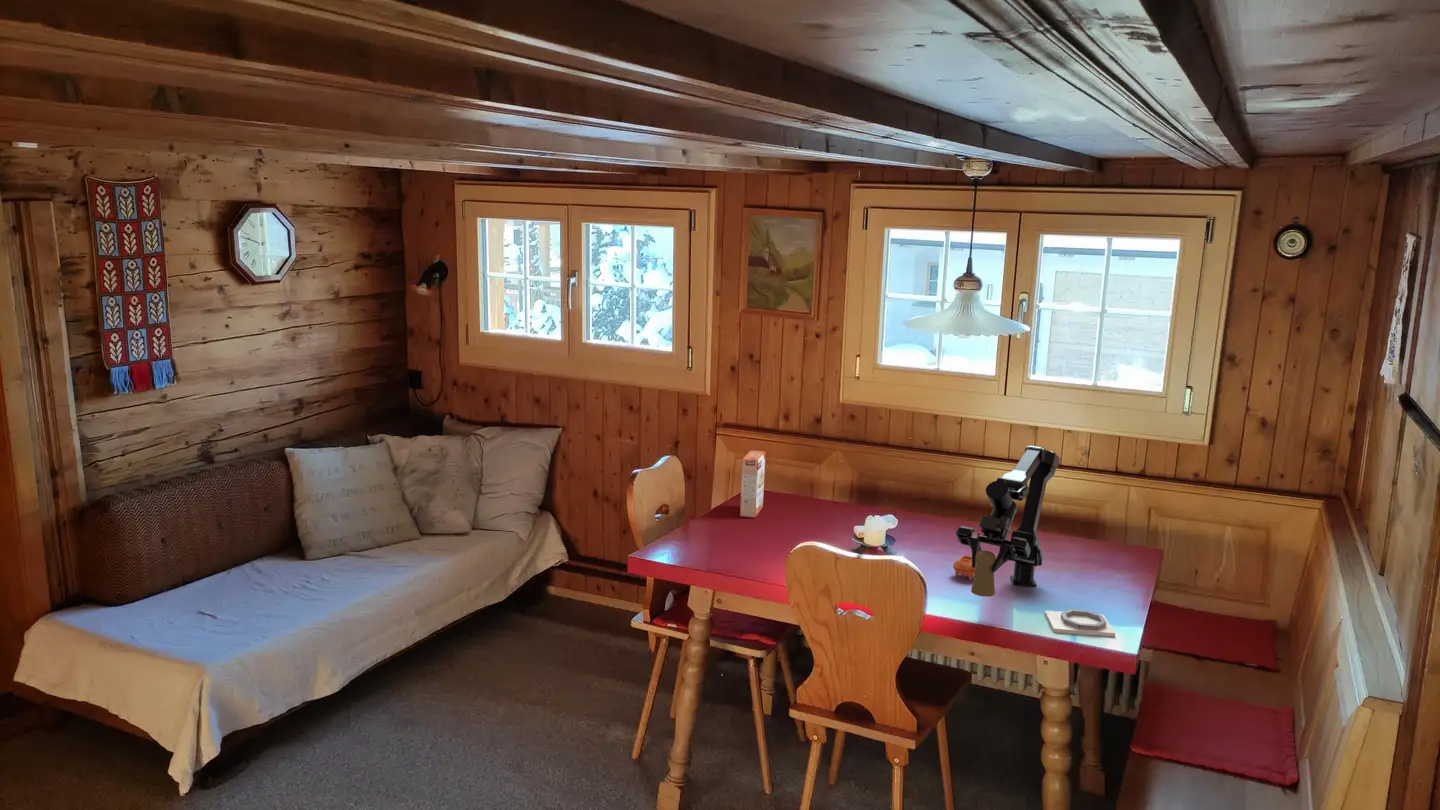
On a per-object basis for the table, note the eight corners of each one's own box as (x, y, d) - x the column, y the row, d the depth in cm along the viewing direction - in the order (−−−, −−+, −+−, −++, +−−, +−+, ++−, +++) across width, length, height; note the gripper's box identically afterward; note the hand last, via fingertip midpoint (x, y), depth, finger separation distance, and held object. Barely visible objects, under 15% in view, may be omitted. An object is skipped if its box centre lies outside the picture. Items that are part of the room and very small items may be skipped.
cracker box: (756, 518, 341) (758, 459, 337) (739, 517, 342) (741, 458, 338) (764, 507, 354) (766, 450, 351) (747, 506, 356) (749, 449, 352)
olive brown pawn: (994, 597, 255) (998, 557, 253) (970, 594, 257) (973, 554, 255) (994, 589, 261) (997, 549, 259) (971, 586, 263) (974, 547, 261)
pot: (987, 580, 286) (984, 558, 285) (962, 587, 285) (959, 566, 284) (974, 569, 294) (971, 549, 292) (950, 576, 293) (947, 556, 291)
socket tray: (1044, 614, 263) (1045, 606, 262) (1103, 618, 261) (1103, 610, 261) (1053, 632, 251) (1054, 624, 251) (1114, 636, 249) (1115, 628, 249)
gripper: (961, 496, 263) (941, 546, 256) (1030, 509, 252) (1012, 562, 246) (970, 518, 271) (951, 567, 264) (1038, 531, 260) (1020, 583, 254)
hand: (982, 569), depth 257 cm, fingers closed on olive brown pawn, 5 cm apart
